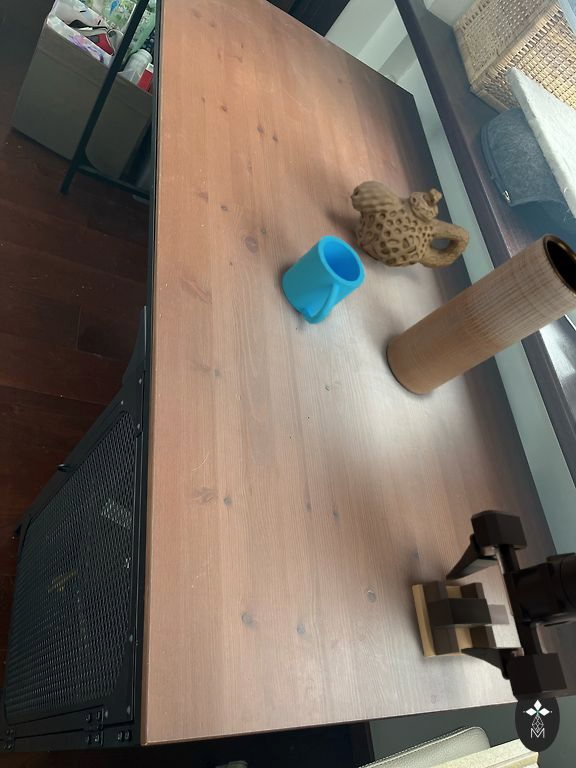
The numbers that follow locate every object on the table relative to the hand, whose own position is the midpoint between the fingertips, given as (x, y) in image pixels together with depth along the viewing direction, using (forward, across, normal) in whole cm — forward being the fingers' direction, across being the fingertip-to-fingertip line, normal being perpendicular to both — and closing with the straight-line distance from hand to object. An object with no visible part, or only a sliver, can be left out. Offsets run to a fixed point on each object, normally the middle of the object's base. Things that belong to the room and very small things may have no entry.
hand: (455, 614), depth 71 cm
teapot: (+5, +59, -5) cm, 59 cm away
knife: (+1, 0, -4) cm, 4 cm away
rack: (+5, 0, -4) cm, 6 cm away
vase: (+5, +37, -7) cm, 38 cm away
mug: (+5, +42, +13) cm, 45 cm away
